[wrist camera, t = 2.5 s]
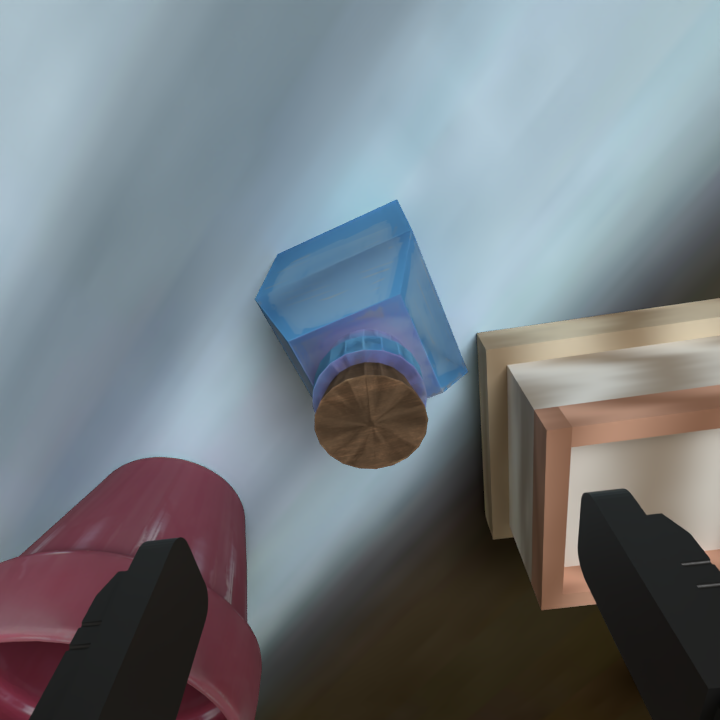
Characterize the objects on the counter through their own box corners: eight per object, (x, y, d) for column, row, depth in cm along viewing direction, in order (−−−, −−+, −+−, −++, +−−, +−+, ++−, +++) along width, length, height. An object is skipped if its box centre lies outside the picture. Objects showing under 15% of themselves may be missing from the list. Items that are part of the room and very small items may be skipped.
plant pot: (312, 568, 33) (293, 805, 22) (123, 602, 35) (12, 843, 23) (241, 395, 27) (160, 604, 16) (12, 446, 28) (-216, 672, 17)
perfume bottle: (397, 199, 22) (437, 282, 12) (442, 313, 25) (509, 467, 14) (277, 254, 23) (215, 376, 13) (333, 358, 26) (320, 531, 15)
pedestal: (485, 515, 31) (521, 624, 25) (476, 333, 25) (521, 412, 19) (692, 489, 31) (786, 595, 24) (733, 296, 25) (874, 365, 18)
